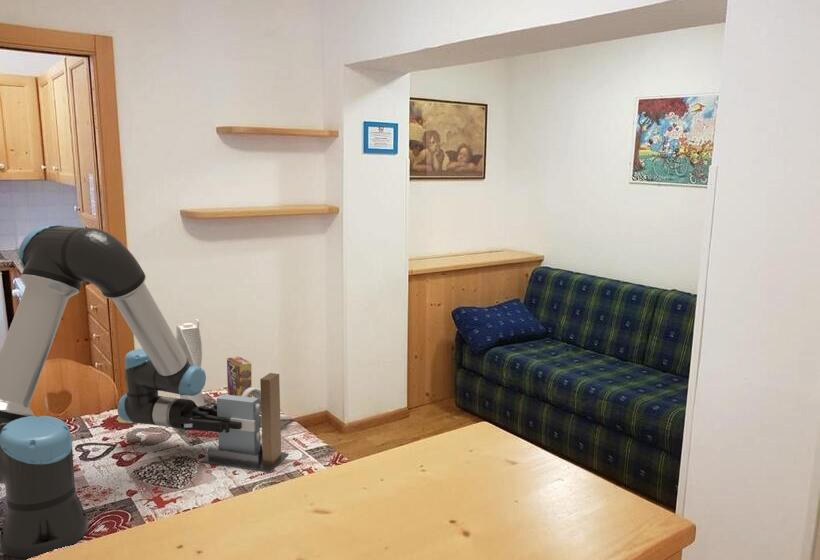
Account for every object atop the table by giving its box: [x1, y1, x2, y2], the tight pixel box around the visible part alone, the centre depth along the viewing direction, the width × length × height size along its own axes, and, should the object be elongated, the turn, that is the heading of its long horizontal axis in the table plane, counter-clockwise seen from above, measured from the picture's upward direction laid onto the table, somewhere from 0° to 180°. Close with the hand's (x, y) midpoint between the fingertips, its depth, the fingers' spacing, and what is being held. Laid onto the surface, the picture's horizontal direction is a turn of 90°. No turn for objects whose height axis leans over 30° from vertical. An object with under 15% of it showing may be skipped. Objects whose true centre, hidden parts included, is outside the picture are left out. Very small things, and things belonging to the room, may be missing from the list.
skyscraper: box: [175, 318, 209, 407], centre depth 193 cm, size 8×8×28 cm
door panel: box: [216, 393, 262, 454], centre depth 161 cm, size 3×11×14 cm, turn 75°
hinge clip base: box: [200, 372, 289, 473], centre depth 160 cm, size 10×19×22 cm, turn 75°
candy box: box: [226, 356, 253, 398], centre depth 194 cm, size 9×4×15 cm, turn 39°
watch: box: [241, 386, 262, 428], centre depth 183 cm, size 6×8×11 cm
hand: (258, 423), depth 160 cm, fingers closed on door panel, 3 cm apart
